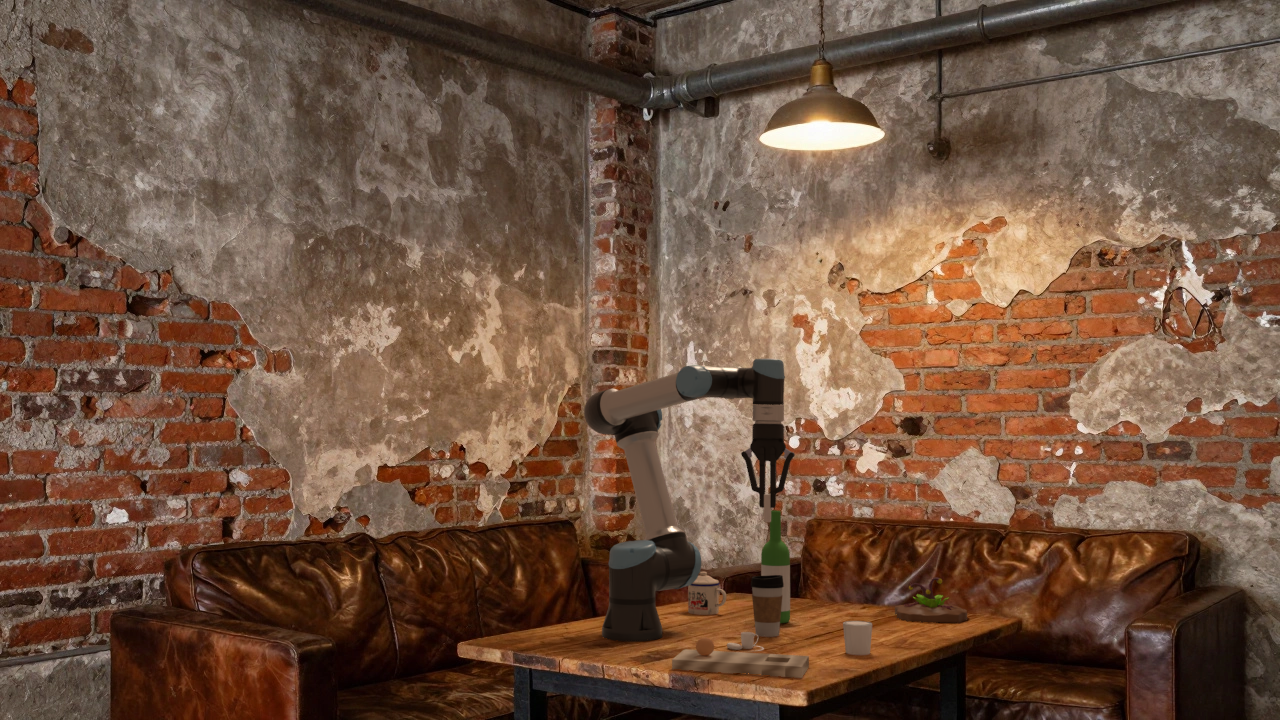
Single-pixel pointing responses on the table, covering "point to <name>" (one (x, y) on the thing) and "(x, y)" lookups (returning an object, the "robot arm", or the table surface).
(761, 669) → the box with square hole
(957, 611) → the plant
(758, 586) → the coffee cup
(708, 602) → the teacup with lid
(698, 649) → the ball
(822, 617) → the table surface
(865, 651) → the white cup
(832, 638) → the table surface
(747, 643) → the teacup and saucer
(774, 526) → the wine bottle
